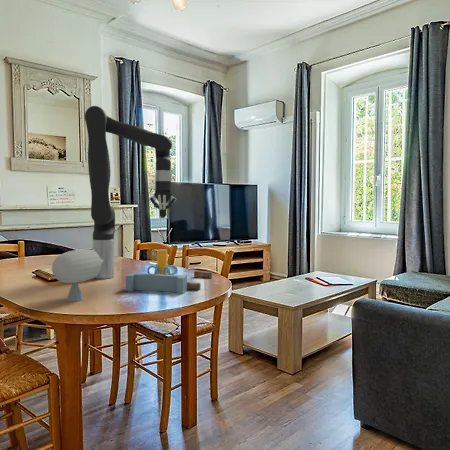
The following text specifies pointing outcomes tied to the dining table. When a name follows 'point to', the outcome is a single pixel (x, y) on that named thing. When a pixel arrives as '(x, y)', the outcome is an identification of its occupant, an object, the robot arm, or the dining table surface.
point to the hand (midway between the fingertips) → (163, 217)
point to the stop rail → (156, 282)
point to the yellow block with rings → (162, 264)
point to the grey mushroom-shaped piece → (76, 269)
